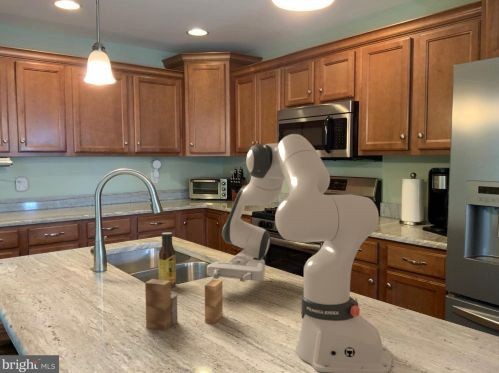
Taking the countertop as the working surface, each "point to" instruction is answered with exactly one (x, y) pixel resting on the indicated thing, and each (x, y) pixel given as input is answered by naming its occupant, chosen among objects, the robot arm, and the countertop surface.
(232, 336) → the countertop surface
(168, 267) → the sauce bottle
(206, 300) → the light brown wooden block
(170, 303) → the hinge post
